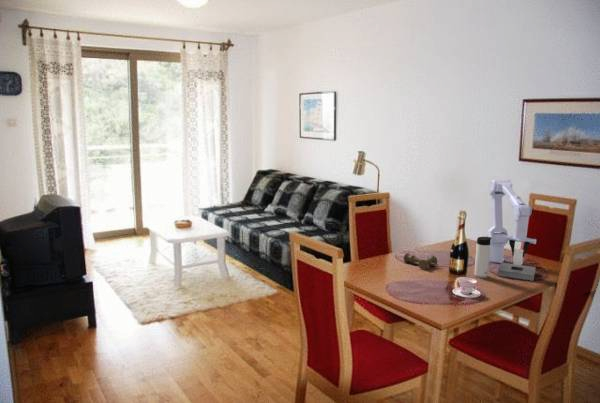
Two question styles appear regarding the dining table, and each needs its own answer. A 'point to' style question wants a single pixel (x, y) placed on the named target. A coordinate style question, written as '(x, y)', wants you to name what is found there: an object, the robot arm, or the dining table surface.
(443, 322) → the dining table surface
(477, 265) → the travel mug
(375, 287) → the dining table surface
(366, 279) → the dining table surface
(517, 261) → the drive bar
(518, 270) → the socket plate
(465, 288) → the teacup
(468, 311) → the dining table surface
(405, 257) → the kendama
